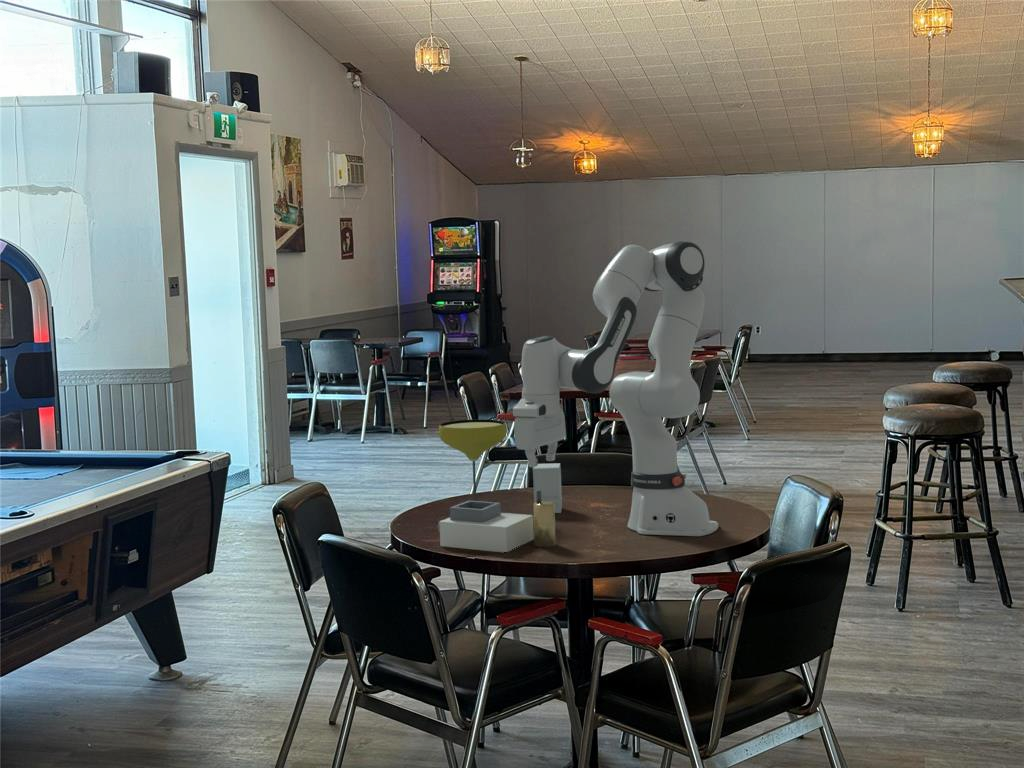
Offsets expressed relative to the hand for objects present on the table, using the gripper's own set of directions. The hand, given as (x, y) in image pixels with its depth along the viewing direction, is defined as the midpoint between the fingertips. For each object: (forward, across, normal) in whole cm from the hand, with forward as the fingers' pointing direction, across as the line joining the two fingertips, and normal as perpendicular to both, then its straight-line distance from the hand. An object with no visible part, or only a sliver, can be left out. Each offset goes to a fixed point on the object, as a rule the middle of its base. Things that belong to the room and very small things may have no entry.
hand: (541, 463), depth 263 cm
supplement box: (+20, -35, -16) cm, 43 cm away
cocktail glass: (+20, -23, -32) cm, 44 cm away
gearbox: (+20, +3, -16) cm, 25 cm away
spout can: (+20, 0, 0) cm, 20 cm away
